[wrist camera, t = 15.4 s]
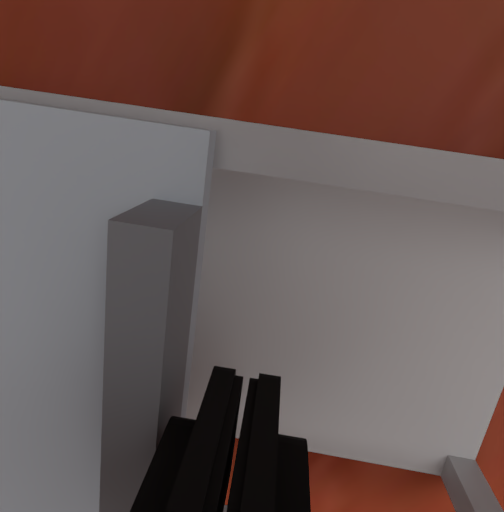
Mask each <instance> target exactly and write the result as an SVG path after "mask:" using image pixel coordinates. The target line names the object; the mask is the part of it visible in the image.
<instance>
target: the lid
mask: <svg viewBox="0 0 504 512" xmlns="http://www.w3.org/2000/svg"><path fill="white" fill-rule="evenodd" d="M216 132H217V131H215V130H208V129H201V128H195V127H188V126H181V125H174V124H168V123H161V122H154V121H147V120H140V119H134V118H127V117H120V116H113V115H107V114H100V113H93V112H86V111H79V110H73V109H66V108H59V107H52V106H46V105H39V104H32V103H25V102H19V101H12V100H5V99H0V512H130V510H131V508H132V505H133V503H134V501H135V498H136V496H137V494H138V491H139V489H140V486H141V484H142V482H143V479H144V477H145V475H146V472H147V470H148V468H149V465H150V463H151V461H152V458H153V456H154V454H155V451H156V449H157V447H158V444H159V442H160V440H161V437H162V435H163V433H164V430H165V428H166V426H167V423H168V421H169V419H170V417H171V416H177V417H183V418H186V411H187V402H188V393H189V383H190V374H191V365H192V355H193V346H194V337H195V327H196V318H197V309H198V299H199V290H200V281H201V271H202V262H203V253H204V243H205V234H206V225H207V215H208V206H209V197H210V187H211V178H212V169H213V160H214V150H215V141H216Z"/></svg>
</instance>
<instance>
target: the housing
mask: <svg viewBox="0 0 504 512" xmlns="http://www.w3.org/2000/svg"><path fill="white" fill-rule="evenodd" d="M0 99H5V100H12V101H19V102H25V103H32V104H39V105H46V106H52V107H59V108H66V109H73V110H79V111H86V112H93V113H100V114H107V115H113V116H120V117H127V118H134V119H140V120H147V121H154V122H161V123H168V124H174V125H181V126H188V127H195V128H201V129H208V130H215V131H217V132H216V141H215V150H214V160H213V169H212V178H211V187H210V197H209V206H208V215H207V225H206V234H205V243H204V253H203V262H202V271H201V281H200V290H199V299H198V309H197V318H196V327H195V337H194V346H193V355H192V365H191V374H190V383H189V393H188V402H187V411H186V418H188V419H194V420H196V418H197V415H198V412H199V409H200V406H201V403H202V400H203V397H204V394H205V391H206V388H207V385H208V382H209V379H210V376H211V373H212V370H213V368H214V366H220V367H226V368H232V369H236V375H237V376H243V385H242V392H241V399H240V407H239V414H238V421H237V429H236V436H235V438H239V437H240V431H241V425H242V419H243V414H244V408H245V402H246V396H247V391H248V385H249V379H250V378H255V379H258V378H259V373H262V374H269V375H275V376H281V389H280V410H279V430H278V434H282V435H287V436H293V437H299V438H305V439H306V440H307V445H308V451H310V452H315V453H320V454H326V455H331V456H337V457H342V458H347V459H353V460H358V461H363V462H369V463H374V464H380V465H385V466H390V467H396V468H401V469H407V470H412V471H417V472H423V473H428V474H434V475H439V476H441V478H442V480H443V483H444V485H445V487H446V490H447V492H448V494H449V497H450V499H451V501H452V504H453V506H454V508H455V511H456V512H504V511H503V509H502V508H501V506H500V504H499V502H498V500H497V499H496V497H495V495H494V493H493V491H492V490H491V488H490V486H489V484H488V482H487V481H486V479H485V477H484V475H483V473H482V472H481V470H480V468H479V466H478V464H477V462H476V461H475V459H476V456H477V454H478V451H479V449H480V446H481V443H482V441H483V438H484V436H485V433H486V431H487V428H488V425H489V423H490V420H491V418H492V415H493V412H494V410H495V407H496V405H497V402H498V400H499V397H500V394H501V392H502V389H503V387H504V159H498V158H491V157H484V156H477V155H470V154H463V153H456V152H450V151H443V150H436V149H429V148H422V147H415V146H409V145H402V144H395V143H388V142H381V141H374V140H367V139H361V138H354V137H347V136H340V135H333V134H326V133H320V132H313V131H306V130H299V129H292V128H285V127H278V126H272V125H265V124H258V123H251V122H244V121H237V120H231V119H224V118H217V117H210V116H203V115H196V114H189V113H183V112H176V111H169V110H162V109H155V108H148V107H142V106H135V105H128V104H121V103H114V102H107V101H100V100H94V99H87V98H80V97H73V96H66V95H59V94H53V93H46V92H39V91H32V90H25V89H18V88H11V87H5V86H0ZM227 506H228V505H224V510H223V512H227Z"/></svg>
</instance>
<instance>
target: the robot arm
mask: <svg viewBox="0 0 504 512" xmlns="http://www.w3.org/2000/svg"><path fill="white" fill-rule="evenodd" d="M242 385H243V376H237V375H236V369H232V368H226V367H220V366H214V368H213V370H212V373H211V376H210V379H209V382H208V385H207V388H206V391H205V394H204V397H203V400H202V403H201V406H200V409H199V412H198V415H197V418H196V420H194V419H188V418H183V417H177V416H171V417H170V419H169V421H168V423H167V426H166V428H165V430H164V433H163V435H162V437H161V440H160V442H159V444H158V447H157V449H156V451H155V454H154V456H153V458H152V461H151V463H150V465H149V468H148V470H147V472H146V475H145V477H144V479H143V482H142V484H141V486H140V489H139V491H138V494H137V496H136V498H135V501H134V503H133V505H132V508H131V510H130V512H223V510H224V505H225V499H226V494H227V488H228V483H229V477H230V471H231V465H232V458H233V450H234V443H235V436H236V429H237V421H238V414H239V407H240V399H241V392H242ZM280 389H281V376H275V375H269V374H262V373H259V378H258V379H255V378H250V379H249V385H248V391H247V396H246V402H245V408H244V414H243V419H242V425H241V431H240V437H239V442H238V448H237V454H236V460H235V465H234V471H233V477H232V483H231V488H230V494H229V500H228V506H227V512H311V510H310V488H309V466H308V445H307V440H306V439H305V438H299V437H293V436H287V435H282V434H278V430H279V410H280Z"/></svg>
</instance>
